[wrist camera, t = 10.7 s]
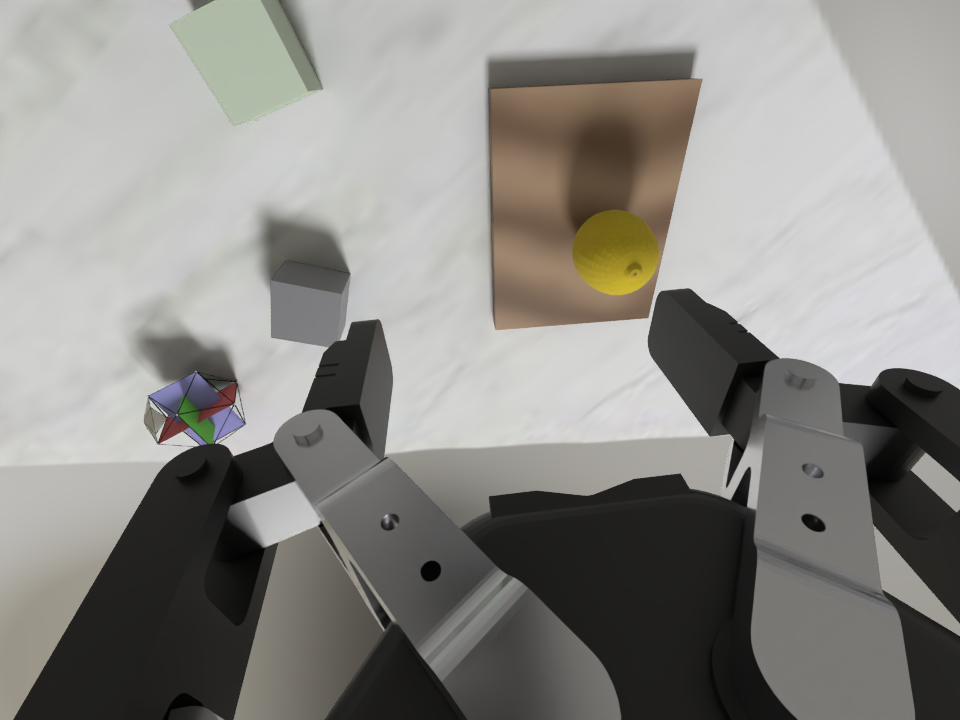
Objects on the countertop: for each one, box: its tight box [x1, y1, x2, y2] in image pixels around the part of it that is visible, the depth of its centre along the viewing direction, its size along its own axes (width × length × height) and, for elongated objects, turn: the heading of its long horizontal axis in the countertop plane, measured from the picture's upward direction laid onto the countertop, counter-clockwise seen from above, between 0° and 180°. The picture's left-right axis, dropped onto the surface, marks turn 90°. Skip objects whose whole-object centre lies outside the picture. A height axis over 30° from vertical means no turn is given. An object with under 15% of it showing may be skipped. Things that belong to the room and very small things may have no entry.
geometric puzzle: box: [144, 371, 246, 447], centre depth 37 cm, size 7×7×8 cm
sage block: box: [169, 0, 323, 127], centre depth 24 cm, size 5×5×4 cm
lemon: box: [572, 210, 659, 295], centre depth 29 cm, size 6×6×8 cm
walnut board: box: [489, 79, 702, 330], centre depth 32 cm, size 18×14×2 cm
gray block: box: [271, 260, 350, 347], centre depth 33 cm, size 5×5×4 cm
